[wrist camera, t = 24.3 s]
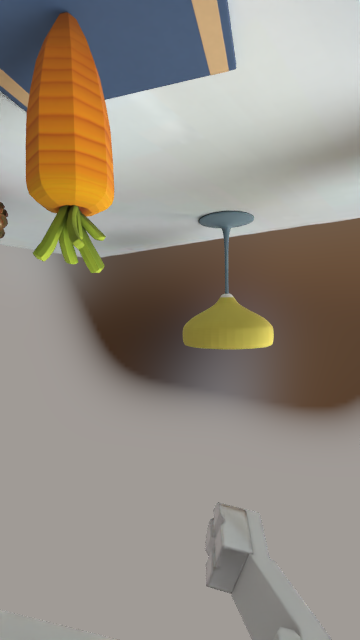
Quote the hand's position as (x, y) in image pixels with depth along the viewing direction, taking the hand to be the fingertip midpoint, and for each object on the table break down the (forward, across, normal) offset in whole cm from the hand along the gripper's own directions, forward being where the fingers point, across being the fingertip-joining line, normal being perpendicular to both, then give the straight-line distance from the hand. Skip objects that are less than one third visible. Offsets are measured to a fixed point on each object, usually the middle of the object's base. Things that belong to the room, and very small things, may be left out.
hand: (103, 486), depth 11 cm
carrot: (+13, +10, -19) cm, 25 cm away
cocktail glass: (+56, -5, -13) cm, 58 cm away
